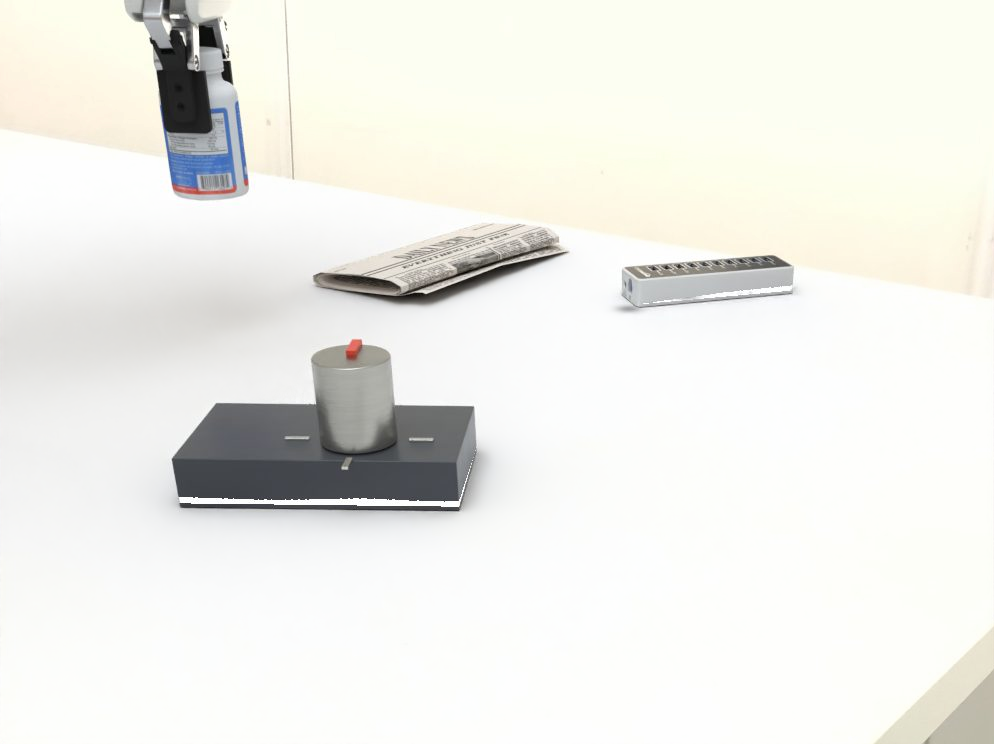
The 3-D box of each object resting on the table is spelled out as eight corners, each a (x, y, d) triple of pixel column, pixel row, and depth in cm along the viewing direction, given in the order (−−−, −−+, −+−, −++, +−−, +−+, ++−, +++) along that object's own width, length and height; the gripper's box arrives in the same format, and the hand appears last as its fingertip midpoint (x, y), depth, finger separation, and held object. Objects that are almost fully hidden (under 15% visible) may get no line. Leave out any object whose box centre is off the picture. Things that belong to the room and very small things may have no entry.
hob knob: (391, 454, 75) (383, 363, 73) (313, 454, 75) (302, 363, 73) (402, 426, 79) (395, 339, 76) (328, 425, 79) (318, 338, 76)
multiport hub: (794, 293, 116) (795, 266, 115) (637, 307, 111) (637, 279, 110) (772, 280, 119) (774, 254, 118) (620, 293, 115) (620, 266, 114)
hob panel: (172, 517, 75) (163, 464, 73) (222, 447, 84) (215, 400, 82) (456, 520, 75) (453, 468, 73) (476, 450, 84) (474, 403, 82)
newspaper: (420, 309, 110) (415, 278, 109) (317, 300, 117) (311, 271, 116) (581, 251, 127) (578, 224, 125) (482, 246, 133) (479, 220, 132)
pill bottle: (202, 185, 100) (184, 43, 96) (264, 191, 99) (248, 47, 94) (156, 197, 96) (134, 50, 91) (220, 204, 94) (202, 54, 90)
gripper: (148, -168, 94) (185, 107, 102) (54, -180, 79) (107, 144, 87) (255, -165, 94) (283, 110, 102) (182, -176, 79) (221, 147, 88)
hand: (201, 123), depth 95 cm, fingers closed on pill bottle, 5 cm apart
